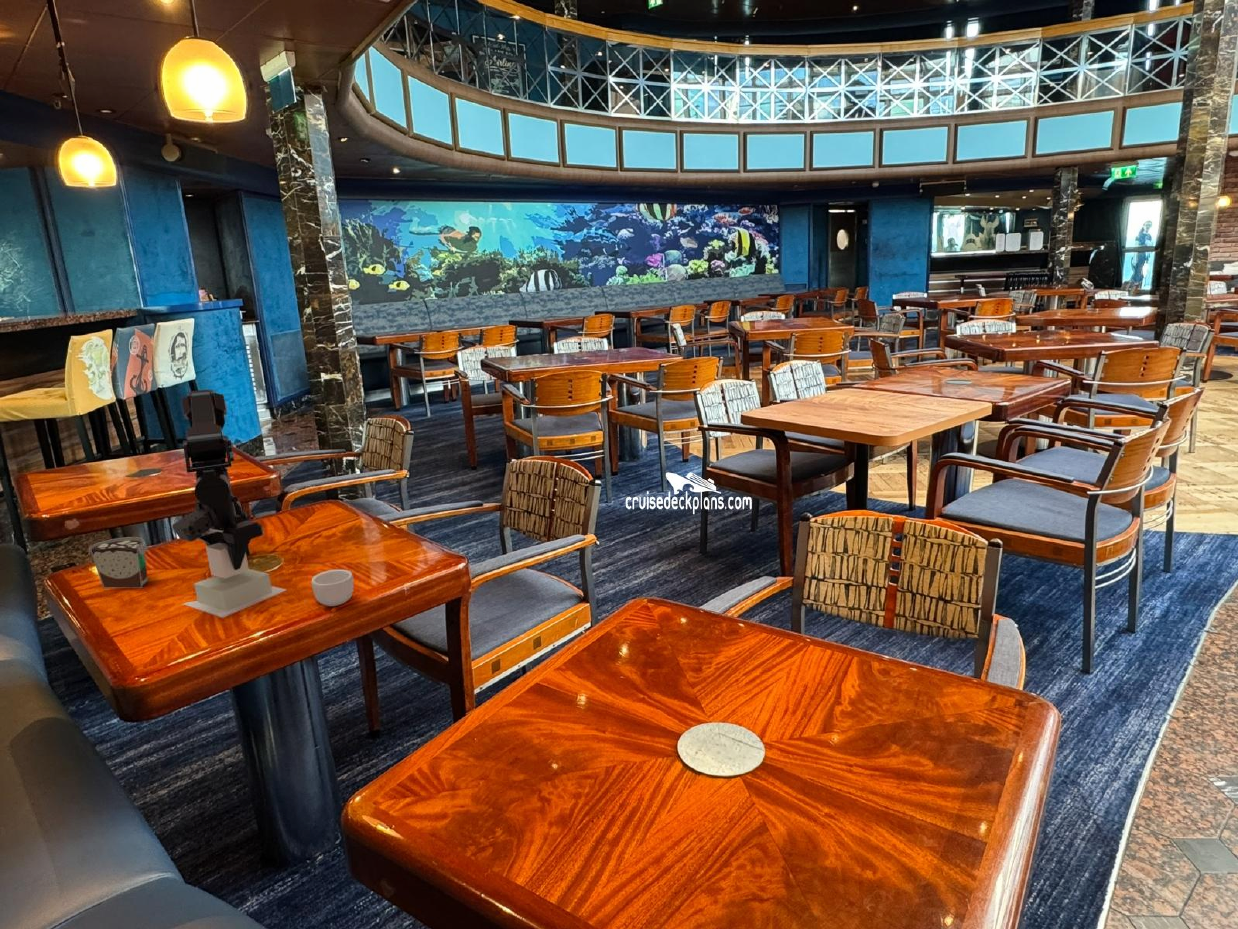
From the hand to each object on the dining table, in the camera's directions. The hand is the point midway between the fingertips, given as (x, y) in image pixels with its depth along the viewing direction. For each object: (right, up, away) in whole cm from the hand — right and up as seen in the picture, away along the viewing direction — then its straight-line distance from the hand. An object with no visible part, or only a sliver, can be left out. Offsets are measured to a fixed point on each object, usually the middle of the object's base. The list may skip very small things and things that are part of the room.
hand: (229, 567), depth 150 cm
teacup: (+21, -7, 0) cm, 22 cm away
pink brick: (0, -1, 0) cm, 1 cm away
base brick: (0, -6, +2) cm, 7 cm away
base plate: (0, -7, +2) cm, 8 cm away
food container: (-30, -6, +15) cm, 34 cm away
